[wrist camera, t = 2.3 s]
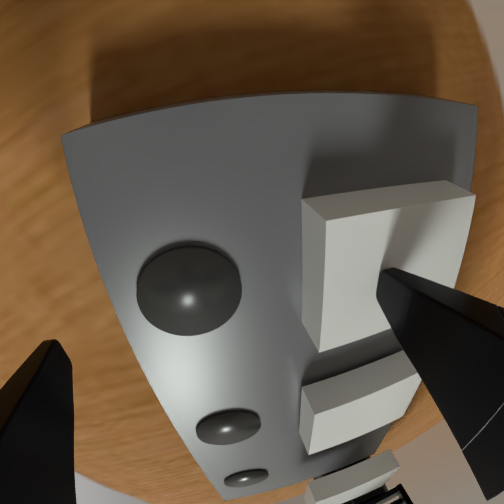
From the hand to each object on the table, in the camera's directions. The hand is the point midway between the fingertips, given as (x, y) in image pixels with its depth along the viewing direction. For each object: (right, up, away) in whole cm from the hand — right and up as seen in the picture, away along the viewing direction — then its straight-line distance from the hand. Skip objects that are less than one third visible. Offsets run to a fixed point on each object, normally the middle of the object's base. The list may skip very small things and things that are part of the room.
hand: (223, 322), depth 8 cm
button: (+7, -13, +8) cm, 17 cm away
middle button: (+6, -5, +6) cm, 10 cm away
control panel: (+3, -4, +8) cm, 10 cm away
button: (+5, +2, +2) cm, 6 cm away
